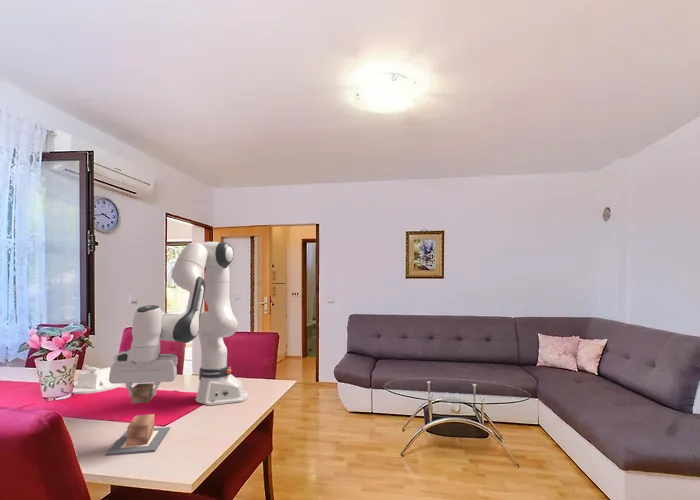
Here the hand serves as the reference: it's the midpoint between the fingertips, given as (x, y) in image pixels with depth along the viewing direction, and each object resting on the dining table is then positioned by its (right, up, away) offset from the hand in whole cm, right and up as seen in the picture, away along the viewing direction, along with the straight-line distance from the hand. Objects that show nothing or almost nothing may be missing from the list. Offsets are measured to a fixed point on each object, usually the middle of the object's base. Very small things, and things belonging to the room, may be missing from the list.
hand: (142, 395), depth 124 cm
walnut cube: (0, -2, 0) cm, 2 cm away
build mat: (0, -15, -1) cm, 15 cm away
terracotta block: (0, -14, -1) cm, 14 cm away
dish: (-57, -19, +59) cm, 84 cm away
